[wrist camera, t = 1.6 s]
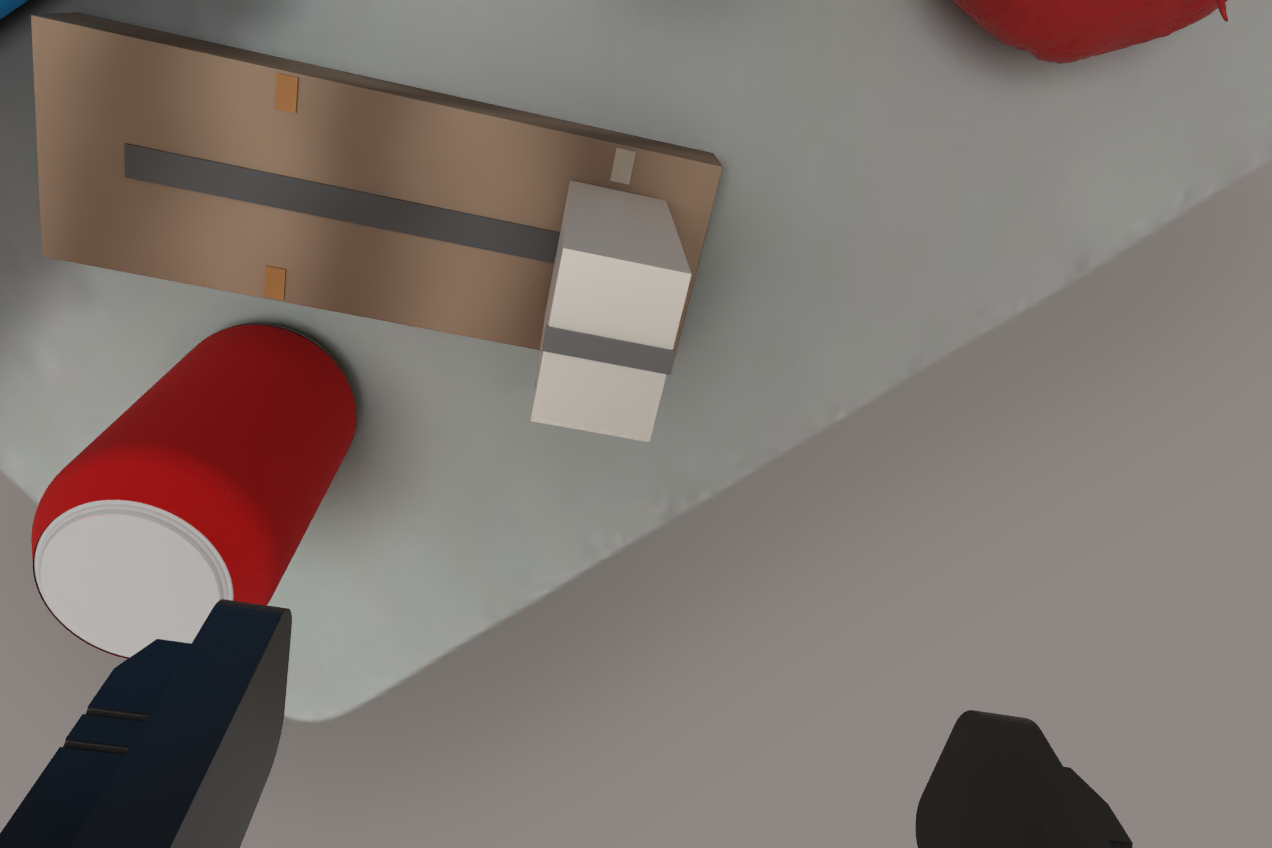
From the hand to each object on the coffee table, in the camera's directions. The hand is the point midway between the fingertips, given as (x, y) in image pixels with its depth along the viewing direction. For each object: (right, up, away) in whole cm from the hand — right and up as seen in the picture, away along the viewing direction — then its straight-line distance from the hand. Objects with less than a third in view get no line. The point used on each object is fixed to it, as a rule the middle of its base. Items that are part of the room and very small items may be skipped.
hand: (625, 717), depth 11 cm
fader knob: (-1, +9, +18) cm, 20 cm away
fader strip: (-8, +11, +20) cm, 24 cm away
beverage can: (-13, +5, +23) cm, 27 cm away
